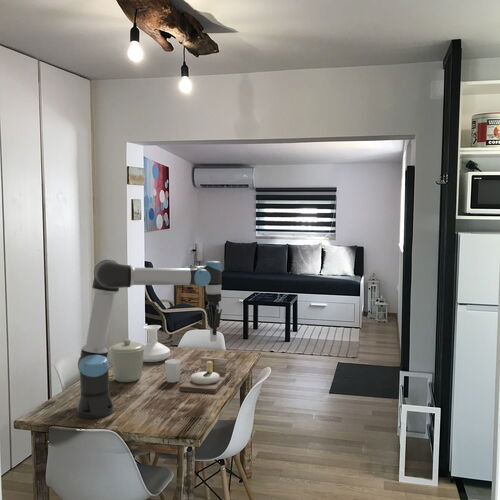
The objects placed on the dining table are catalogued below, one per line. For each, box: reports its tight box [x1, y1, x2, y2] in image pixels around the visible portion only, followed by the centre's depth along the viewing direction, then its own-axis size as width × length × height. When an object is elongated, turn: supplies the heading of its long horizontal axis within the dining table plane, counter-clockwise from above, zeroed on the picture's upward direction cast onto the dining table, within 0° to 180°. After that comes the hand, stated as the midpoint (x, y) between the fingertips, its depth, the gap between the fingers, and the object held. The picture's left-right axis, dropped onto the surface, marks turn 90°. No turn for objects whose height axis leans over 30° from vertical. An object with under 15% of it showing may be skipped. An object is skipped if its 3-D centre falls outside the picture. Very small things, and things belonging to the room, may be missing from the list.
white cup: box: [164, 358, 182, 384], centre depth 266 cm, size 8×8×10 cm
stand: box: [178, 356, 232, 394], centre depth 262 cm, size 27×18×9 cm, turn 166°
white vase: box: [142, 324, 171, 363], centre depth 304 cm, size 20×20×19 cm
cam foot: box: [190, 361, 219, 384], centre depth 260 cm, size 14×14×8 cm
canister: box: [108, 338, 145, 383], centre depth 268 cm, size 18×18×21 cm
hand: (213, 341), depth 255 cm, fingers closed
